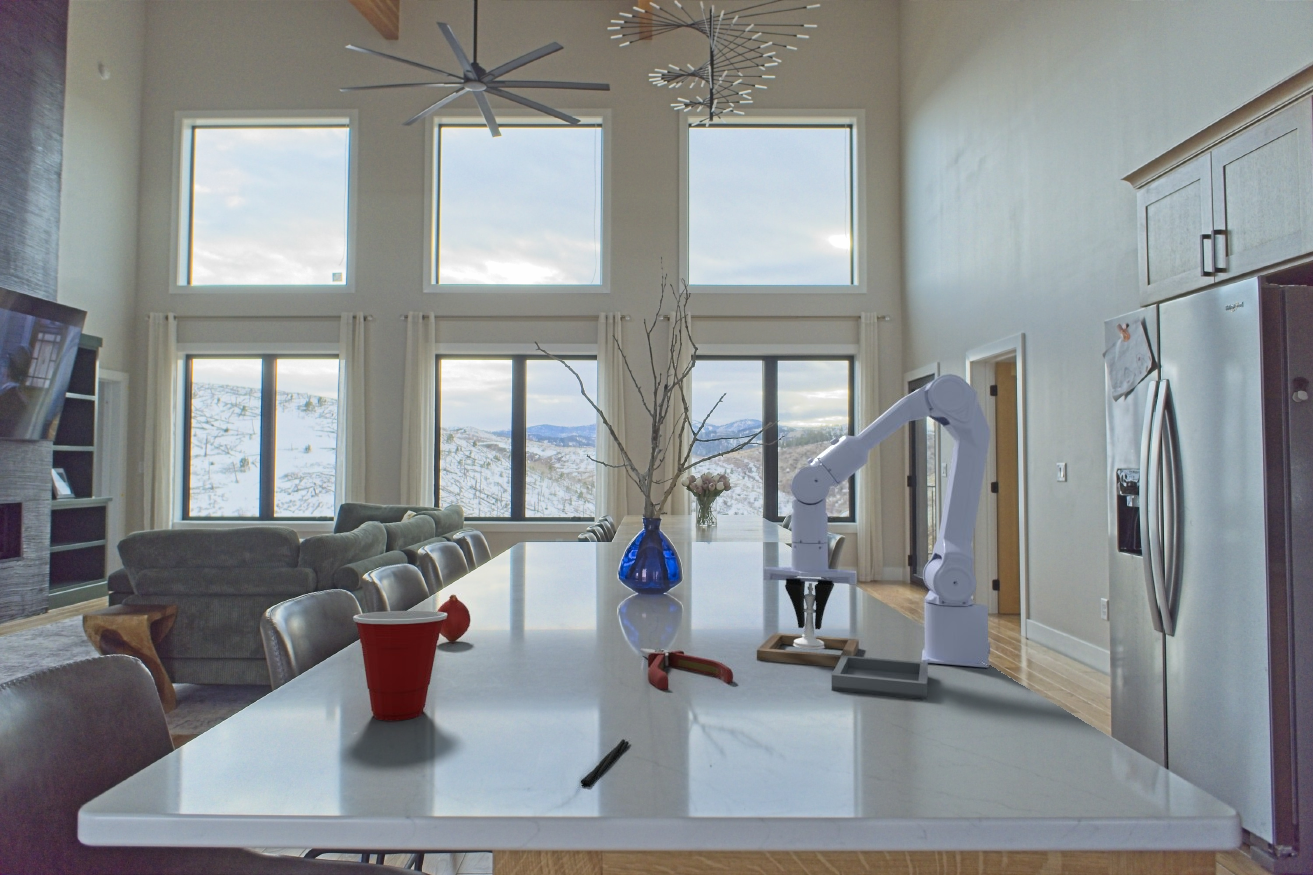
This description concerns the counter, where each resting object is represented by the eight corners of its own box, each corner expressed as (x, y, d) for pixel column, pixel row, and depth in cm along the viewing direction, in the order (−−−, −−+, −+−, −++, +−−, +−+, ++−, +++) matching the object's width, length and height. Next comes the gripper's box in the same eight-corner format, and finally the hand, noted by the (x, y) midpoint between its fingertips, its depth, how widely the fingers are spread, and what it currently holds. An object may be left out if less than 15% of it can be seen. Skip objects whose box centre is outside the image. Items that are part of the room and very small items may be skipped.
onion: (433, 639, 135) (434, 592, 136) (468, 637, 137) (469, 590, 137) (435, 646, 130) (436, 597, 130) (471, 644, 131) (472, 596, 132)
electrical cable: (622, 745, 85) (622, 735, 85) (631, 746, 85) (631, 736, 85) (579, 789, 73) (580, 777, 73) (590, 790, 73) (590, 779, 73)
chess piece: (819, 643, 130) (821, 581, 130) (828, 649, 125) (830, 585, 125) (789, 642, 129) (791, 580, 130) (797, 649, 124) (799, 585, 125)
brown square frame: (858, 648, 131) (858, 639, 131) (849, 668, 118) (849, 657, 118) (774, 641, 136) (774, 632, 136) (756, 659, 123) (756, 649, 123)
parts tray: (927, 676, 113) (927, 662, 113) (926, 699, 102) (926, 683, 102) (841, 668, 117) (841, 655, 117) (831, 689, 106) (831, 674, 106)
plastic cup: (453, 699, 100) (455, 603, 101) (436, 727, 90) (438, 619, 90) (365, 700, 99) (367, 604, 100) (337, 728, 89) (340, 620, 89)
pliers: (682, 654, 128) (682, 637, 128) (737, 686, 109) (736, 667, 109) (614, 660, 124) (614, 643, 124) (658, 694, 105) (658, 674, 105)
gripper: (759, 542, 126) (759, 628, 126) (853, 545, 121) (853, 635, 121) (768, 539, 133) (768, 620, 132) (857, 542, 128) (858, 627, 127)
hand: (809, 627), depth 127 cm, fingers closed on chess piece
